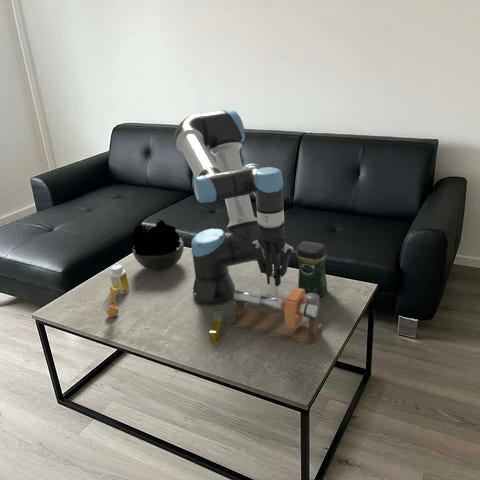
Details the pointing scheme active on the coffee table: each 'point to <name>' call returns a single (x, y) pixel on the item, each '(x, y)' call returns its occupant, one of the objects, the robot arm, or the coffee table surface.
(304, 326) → the stand
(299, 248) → the coffee jar
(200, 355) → the coffee table surface
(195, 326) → the coffee table surface
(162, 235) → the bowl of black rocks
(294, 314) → the ring
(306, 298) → the gray egg
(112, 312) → the figurine
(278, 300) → the pipe
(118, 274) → the supplement bottle
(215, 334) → the medication box
